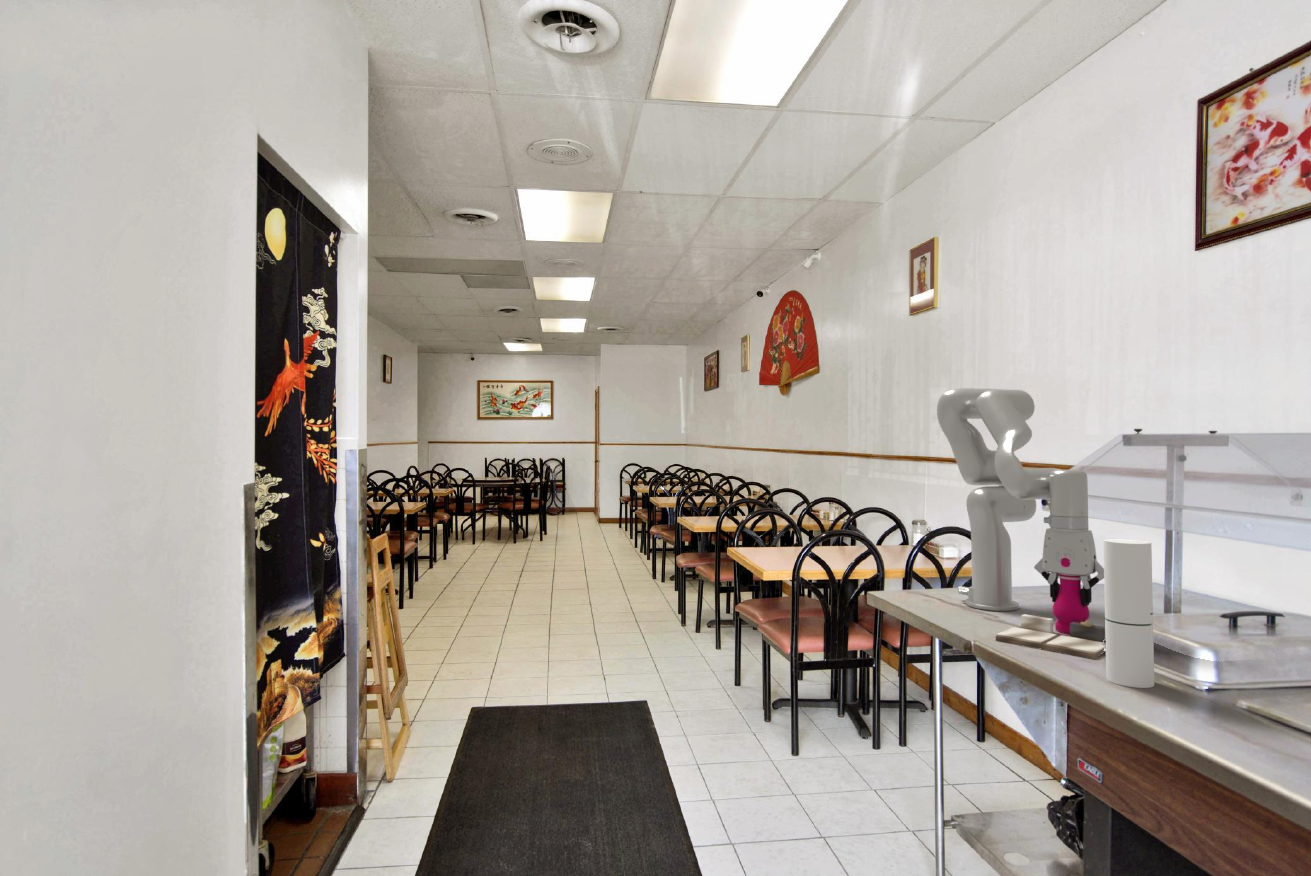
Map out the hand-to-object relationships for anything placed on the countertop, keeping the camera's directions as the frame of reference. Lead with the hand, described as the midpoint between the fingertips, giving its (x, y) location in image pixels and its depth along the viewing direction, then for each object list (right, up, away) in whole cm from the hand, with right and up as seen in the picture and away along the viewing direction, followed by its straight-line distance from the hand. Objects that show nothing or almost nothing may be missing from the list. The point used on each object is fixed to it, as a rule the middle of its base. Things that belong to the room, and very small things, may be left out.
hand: (1070, 602), depth 160 cm
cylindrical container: (-10, -6, -34) cm, 36 cm away
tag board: (-10, -6, -10) cm, 15 cm away
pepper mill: (0, -7, 0) cm, 7 cm away
